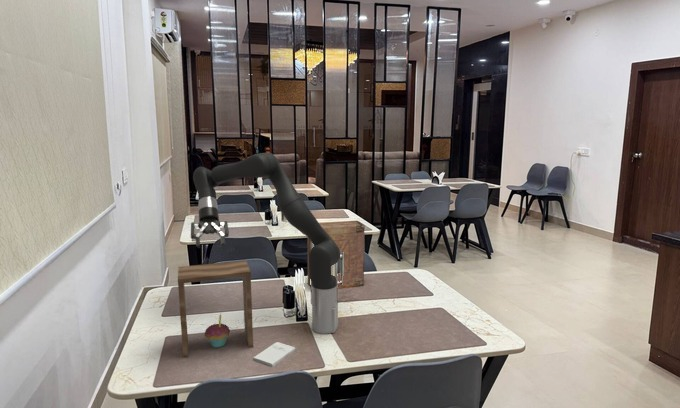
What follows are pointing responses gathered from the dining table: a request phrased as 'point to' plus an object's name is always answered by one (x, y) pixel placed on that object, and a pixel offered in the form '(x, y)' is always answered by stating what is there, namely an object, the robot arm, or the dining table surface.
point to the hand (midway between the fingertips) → (210, 246)
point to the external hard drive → (274, 354)
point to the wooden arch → (215, 273)
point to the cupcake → (217, 334)
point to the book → (347, 250)
